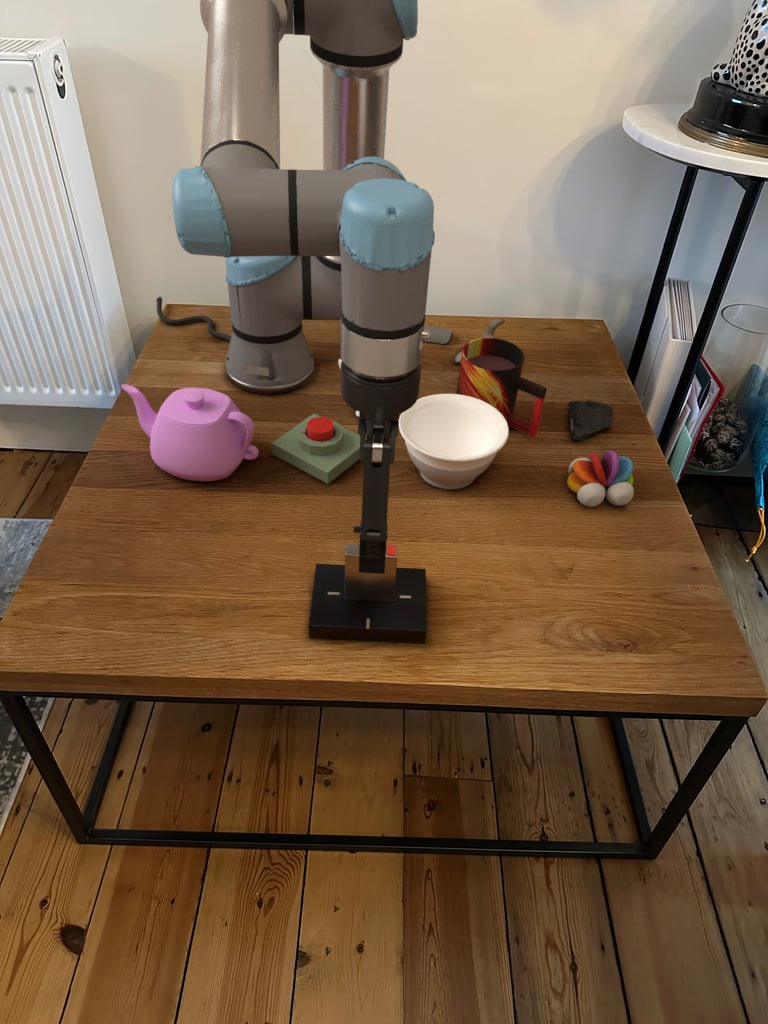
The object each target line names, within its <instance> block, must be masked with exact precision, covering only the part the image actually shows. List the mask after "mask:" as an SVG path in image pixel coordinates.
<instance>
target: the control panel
mask: <svg viewBox="0 0 768 1024" xmlns="http://www.w3.org/2000/svg"><path fill="white" fill-rule="evenodd" d="M427 606H428V605H427V569H426V568H416V567H398V566H397V568H396V581H395V593H394V602H381V601H360V600H345V564H335V563H334V564H333V563H332V564H331V563H316V564H315V569H314V577H313V585H312V594H311V602H310V609H309V618H308V639H319V640H320V639H321V640H337V641H340V640H341V641H360V642H361V641H362V642H379V643H380V642H381V643H382V642H383V643H405V644H426V642H427V635H428V613H427V610H428V609H427Z"/></svg>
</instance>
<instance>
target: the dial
mask: <svg viewBox="0 0 768 1024" xmlns="http://www.w3.org/2000/svg"><path fill="white" fill-rule="evenodd" d="M359 547H360V543H345V551H344V552H345V553H344V565H345V600H360V601H381V602H394V593H395V581H396V568H397V567H398V546H397V545H394V544H386V558H385V574H378V573H359Z"/></svg>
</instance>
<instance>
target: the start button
mask: <svg viewBox="0 0 768 1024" xmlns="http://www.w3.org/2000/svg"><path fill="white" fill-rule="evenodd" d="M331 420H332V419H330V418H329V417H324V416H321V417H316V418H313V419H311V420H310V421H309V422H308V423H307V435H308V437H309V438H310V439H311V440H313V441H319V442H323V441H328V440H330V439H331V438H332V437H333V436H334V424H333V422H332V421H331Z"/></svg>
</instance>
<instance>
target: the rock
mask: <svg viewBox="0 0 768 1024" xmlns="http://www.w3.org/2000/svg"><path fill="white" fill-rule="evenodd" d="M567 416H568V423H569V428H570V436H571V439H572V440H575V441H578V440H581V441H583V440H586V439H588V437H591V436H592V435H594V434H596V433H597V432H600V431H603V430H606V429H609V428H612V427H613V419H614V417H613V407H612V406H611V405H608V404H607V403H604V402H600V401H595V400H591V399H586V400H569V402H568V410H567Z"/></svg>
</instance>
